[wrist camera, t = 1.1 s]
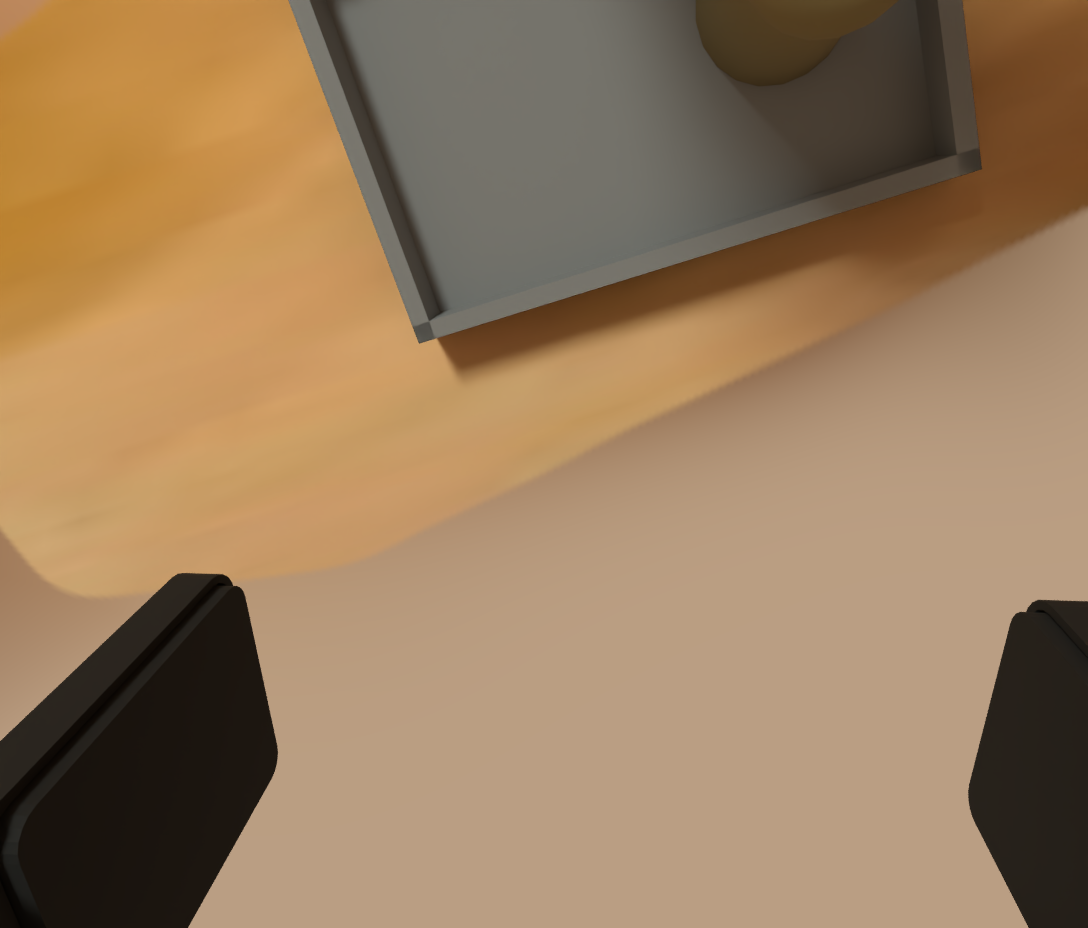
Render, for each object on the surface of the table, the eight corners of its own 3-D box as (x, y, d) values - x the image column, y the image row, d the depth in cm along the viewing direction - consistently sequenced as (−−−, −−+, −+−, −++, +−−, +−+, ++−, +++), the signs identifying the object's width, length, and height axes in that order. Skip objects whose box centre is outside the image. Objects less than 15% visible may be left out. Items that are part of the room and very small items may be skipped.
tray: (892, -329, 26) (918, -377, 23) (955, 168, 31) (981, 169, 29) (287, -57, 31) (260, -75, 28) (432, 332, 36) (419, 343, 34)
